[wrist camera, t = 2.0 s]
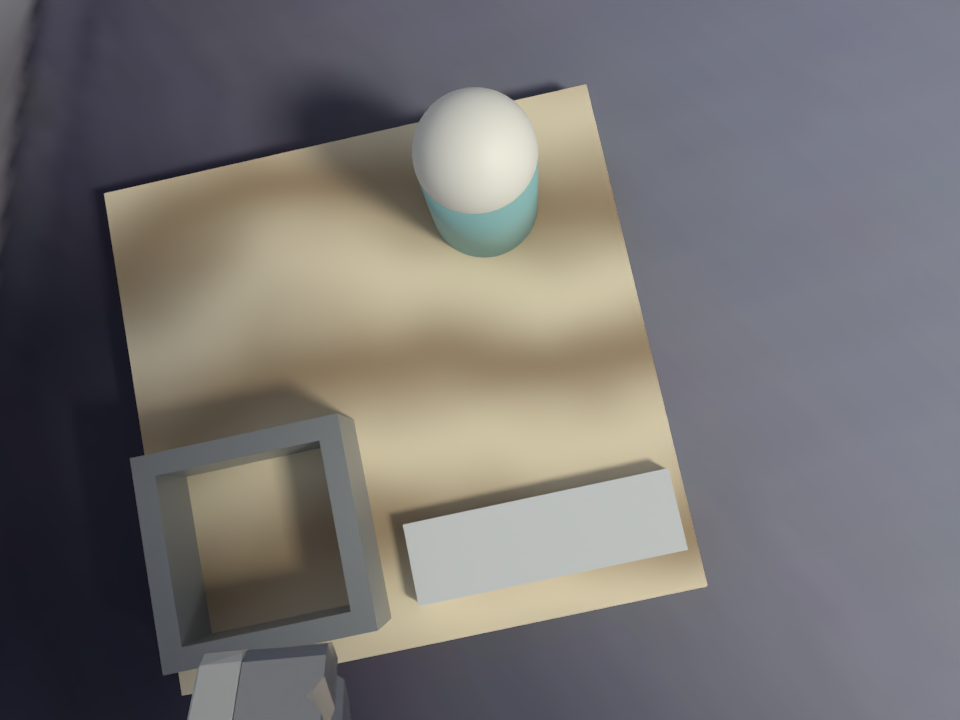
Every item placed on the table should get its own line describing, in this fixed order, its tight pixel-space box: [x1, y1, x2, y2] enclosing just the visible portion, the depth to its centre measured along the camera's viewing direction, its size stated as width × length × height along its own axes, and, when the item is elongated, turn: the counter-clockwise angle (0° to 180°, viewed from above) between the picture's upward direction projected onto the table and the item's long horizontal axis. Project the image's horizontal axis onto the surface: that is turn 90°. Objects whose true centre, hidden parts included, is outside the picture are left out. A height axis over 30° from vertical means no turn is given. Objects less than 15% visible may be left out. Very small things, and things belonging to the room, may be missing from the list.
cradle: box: [130, 413, 391, 676], centre depth 34 cm, size 8×8×3 cm
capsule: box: [412, 87, 538, 258], centre depth 32 cm, size 4×4×8 cm
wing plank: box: [403, 468, 688, 606], centre depth 34 cm, size 10×3×1 cm, turn 102°
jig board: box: [104, 84, 707, 696], centre depth 36 cm, size 20×20×2 cm
